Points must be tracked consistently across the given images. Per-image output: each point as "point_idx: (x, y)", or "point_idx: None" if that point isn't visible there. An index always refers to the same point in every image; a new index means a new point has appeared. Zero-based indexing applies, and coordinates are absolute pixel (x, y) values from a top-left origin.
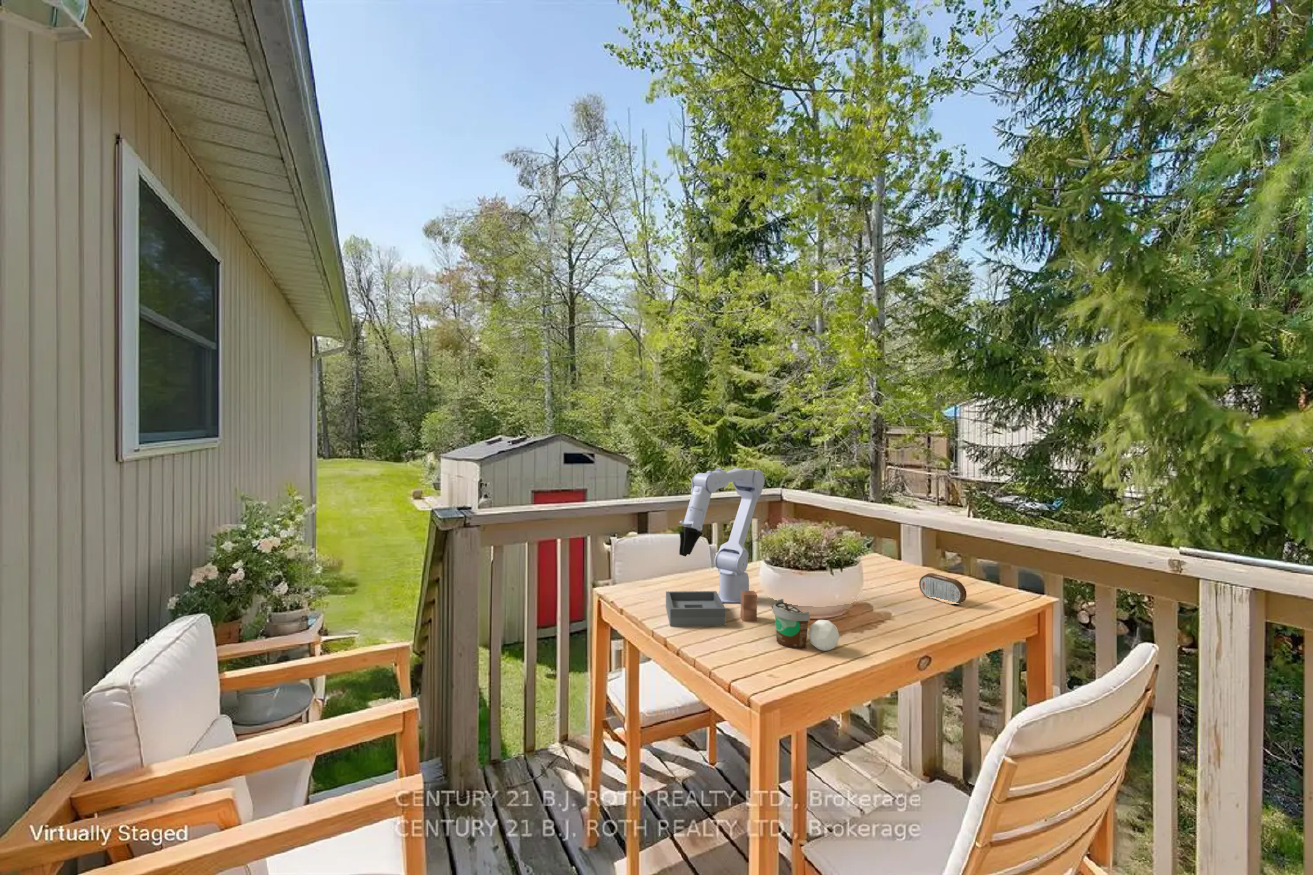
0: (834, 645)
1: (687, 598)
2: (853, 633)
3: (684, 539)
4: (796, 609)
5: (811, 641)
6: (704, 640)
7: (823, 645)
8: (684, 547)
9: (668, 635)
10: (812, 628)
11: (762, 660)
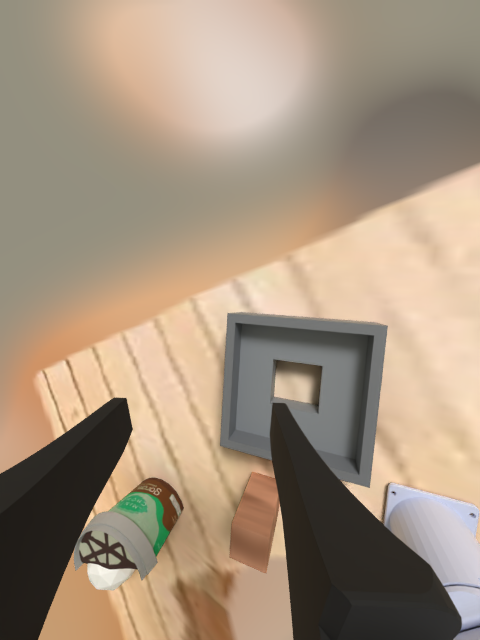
0: None
1: (364, 387)
2: (181, 623)
3: (43, 459)
4: (102, 563)
5: None
6: (174, 362)
7: None
8: (89, 420)
9: (198, 301)
10: None
11: None
